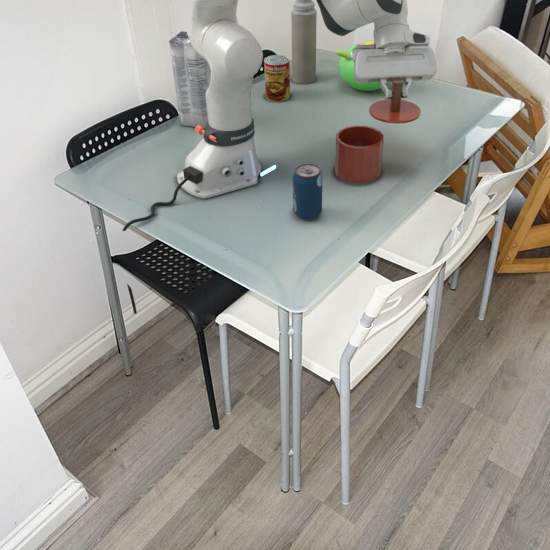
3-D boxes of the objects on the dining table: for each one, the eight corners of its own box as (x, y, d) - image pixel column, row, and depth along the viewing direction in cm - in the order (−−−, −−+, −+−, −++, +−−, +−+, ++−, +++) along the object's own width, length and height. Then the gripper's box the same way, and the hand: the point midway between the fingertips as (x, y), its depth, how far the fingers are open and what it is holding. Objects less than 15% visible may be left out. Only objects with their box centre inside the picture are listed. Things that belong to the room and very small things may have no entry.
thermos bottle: (293, 74, 213) (292, -13, 195) (316, 74, 213) (317, -13, 194) (291, 83, 207) (289, -5, 189) (315, 84, 206) (316, -5, 188)
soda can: (327, 212, 149) (329, 168, 141) (309, 225, 145) (309, 181, 138) (305, 202, 153) (305, 159, 145) (287, 214, 149) (286, 171, 141)
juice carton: (209, 131, 183) (199, 38, 166) (177, 126, 186) (164, 35, 168) (221, 118, 189) (213, 27, 172) (190, 113, 192) (178, 24, 175)
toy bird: (400, 84, 204) (405, 39, 195) (379, 104, 193) (383, 57, 184) (351, 74, 212) (353, 30, 202) (328, 92, 201) (329, 47, 192)
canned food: (262, 100, 198) (260, 63, 190) (269, 90, 204) (268, 53, 196) (286, 102, 196) (285, 65, 189) (292, 92, 202) (292, 55, 194)
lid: (394, 130, 150) (398, 96, 144) (358, 112, 158) (360, 79, 152) (431, 115, 156) (436, 82, 150) (393, 99, 164) (397, 66, 158)
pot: (356, 190, 156) (358, 152, 150) (325, 171, 164) (326, 135, 157) (389, 174, 162) (393, 137, 155) (358, 156, 169) (360, 121, 162)
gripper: (352, 39, 151) (357, 95, 150) (436, 35, 152) (441, 90, 150) (348, 51, 157) (353, 104, 156) (428, 47, 158) (433, 100, 157)
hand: (397, 97), depth 153 cm, fingers closed on lid, 2 cm apart
